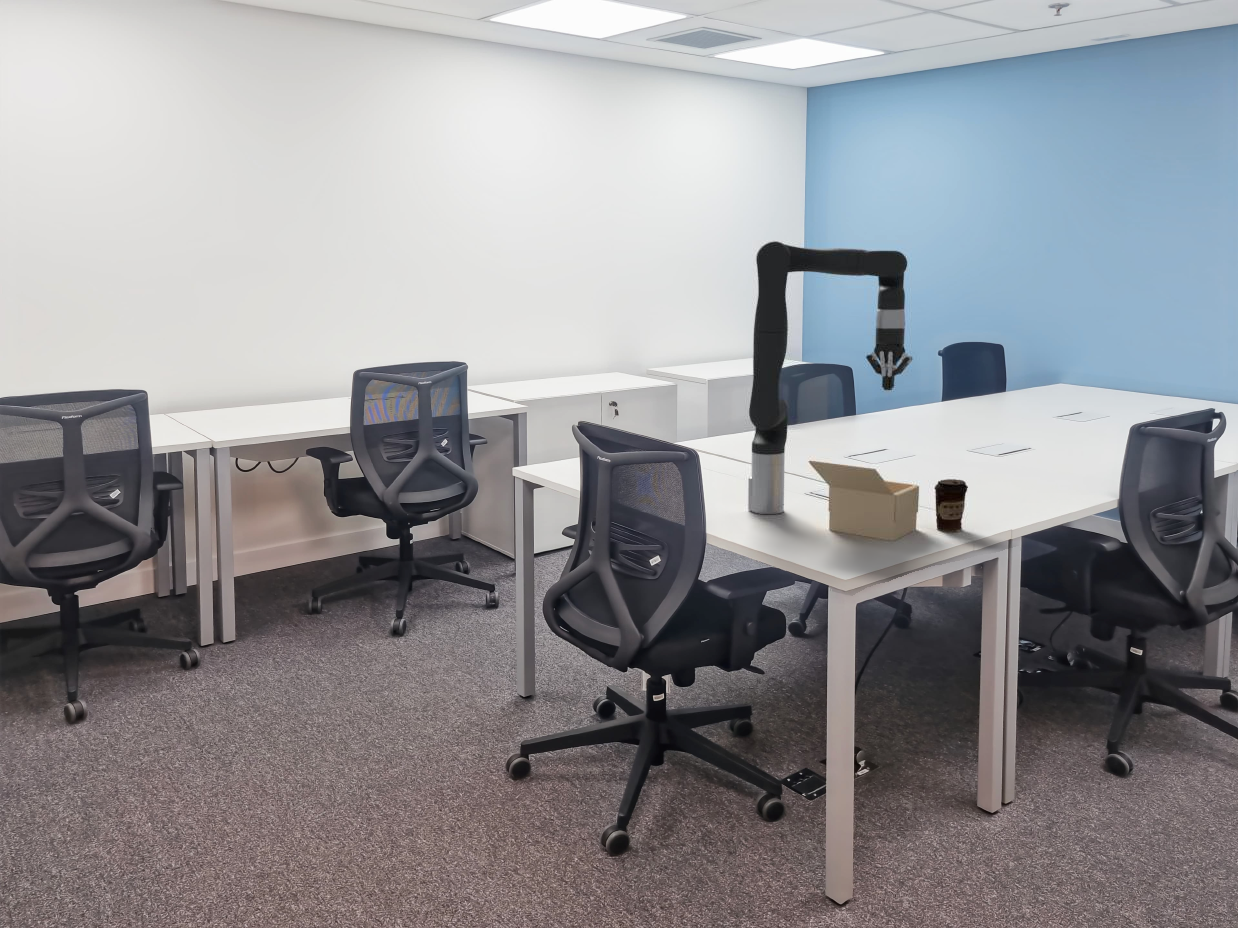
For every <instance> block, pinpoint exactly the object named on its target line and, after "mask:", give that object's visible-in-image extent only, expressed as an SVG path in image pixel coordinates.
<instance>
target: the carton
mask: <svg viewBox="0 0 1238 928" xmlns="http://www.w3.org/2000/svg"><path fill="white" fill-rule="evenodd" d="M884 481H885V482H886V483H887V485H888V486H889V487H890V489H891V490H892V491H893V492H894V496H893V495H886V494H880V493H873V492H866V491H859V490H852V489H845V488H838V487H831V486H829V485H828V512H829V514H828V517H829V519H828V521H829V522H828V525H829V526H828V530H829V531H833V532H838V533H843V534H850V535H856V536H861V537H862V536H863V537H868V538H873V539H880V540H886V541H892V542H894V541H895V540H897V539H898V540H899V538H902V537H904V536H906V535H908V534H910V533H911V532H914V531H916V530H917V517H918V515H917V513H919V499H920V498H919V497H920V486H919V484H912V483H904V482H899V481H898V482H897V481H891V480H890V481H888V480H884Z"/></svg>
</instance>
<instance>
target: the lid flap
mask: <svg viewBox="0 0 1238 928" xmlns="http://www.w3.org/2000/svg"><path fill="white" fill-rule="evenodd" d="M808 463H809V464H810V466H811V467H812V468H813V470H815V472H817V474H818V475H819V476H820V477H821V478H822V480H824V481H825V483H826V484H827V485H828V487H829V486H831V487H838V488H845V489H852V490H859V491H866V492H873V493H880V494H886V495H893V496H894V492H893V491H892V490H891V489H890V487H889V486H888V485H887V483H886V482H885V481H886V480H885V479H884V478H883V477H882V475H880V473H879V472H878V471H877V469H876V468H871V467H863V466H856V465H855V466H854V465H847V464H841V463H839V464H838V463H831V462H830V463H829V462H823V461H815V460H814V461H813V460H808Z"/></svg>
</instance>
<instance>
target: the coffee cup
mask: <svg viewBox="0 0 1238 928" xmlns="http://www.w3.org/2000/svg"><path fill="white" fill-rule="evenodd" d="M968 488H969V486H968V485H967V483H966V482H965V480H962V479H954V478H953V479H952V478H951V479H950V478H949V479H948V478H947V479H941V480H938V481H937V484H935V486H934V491H935V515H936V519H935V520H936V521H935V522H936V529H937V530H938V531H942V532H960V531H962V530H963V527H962V524H963V523H962V519H963V517H964V516H963V515H964V510H965V506H966V493H967V492H968Z"/></svg>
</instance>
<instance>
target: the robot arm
mask: <svg viewBox="0 0 1238 928" xmlns="http://www.w3.org/2000/svg"><path fill="white" fill-rule="evenodd" d="M755 257H756V261H755V262H756V269H757V283H758V289H757V290H758V294H757V303H756V309H755V314H754V315H755V316H754V327H753V344H752V345H753V347H752V349H753V356H752V357H753V358H752V361H753V362H752V365H753V366H752V368H753V369H752V373H753V375H752V388H751V393H750V394H751V396H750V401H749V402H750V403H749V409H748V410H749V411H748V415H749V419H750V422H751V423H752V425H753V426H754V427H755V430H754V431H755V432H754V437H753V440H752V442H751V476H750V477H748V486H747V487H748V491H747V492H748V493H747V497H748V503H747V506H748V507H747V510H748V511H751V512H752V513H755V514H760V515H777V514H781V513H783V512H784V510H785V509H784V508H785V507H784V505H785V459H786V458H785V457H786V456H785V454H786V453H785V451H786V449H785V448H786V443H787V439H788V421H789V419H788V417H789V414H788V413H789V412H788V411H789V410H788V407H787V403H786V401H785V399H784V398H783V397H782V396H780V394H779V393H780V392H779V391H780V389H779V388H780V387H779V385H780V376H781V373H782V369H783V366H784V362H785V359H786V353H787V349H788V334H789V333H788V332H789V329H788V323H789V322H788V308H787V299H786V298H787V297H786V292H787V284H788V283H787V282H788V274H789V273H796V272H798V273H800V272H803V273H805V272H807V273H808V272H809V273H810V272H811V273H818V274H827V275H838V276H839V275H840V276H856V277H862V276H872V277H878V279H877V280H878V294H877V295H878V296H877V313H876V319H875V321H876V322H875V346H874V348H873V352H872V353H870V354H868V355H866V357H865V358H866V359H867V362H868V363H869V365H870V366H871V367H872V369H873V370H874V372H875V373H876V374H877V375H881V376H882V379H881V382H882V383H881V386H882V388H883V390H884V391H892V389H894V387H895V376H897V375H901V374H902V373H903V372H904V370H906V368H907V367H908V366H909V365H910V363H911V362H912V361H913V359H914V358H913V356H909V355H908V353H906V349H905V345H904V344H905V333H906V332H905V328H906V327H905V326H906V314H905V303H906V293H905V289H904V284H905V282H904V281H905V272H906V270H907V267H908V259H907V257H906V256H905V254H904V253H902V252H901V251H898V250H867V249H860V248H841V247H840V248H837V247H836V248H809V247H799V246H794V245H790V244H789V245H788V244H784V243H783V242H780V241H778V240H777V241H776V240H773V241H768V242H765V243H764V244H762V245H761V247H759V249H758V251H757V253H756V256H755ZM900 360H901V362H900ZM879 362H880V363H879ZM899 362H900V363H899ZM898 363H899V365H898Z"/></svg>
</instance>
